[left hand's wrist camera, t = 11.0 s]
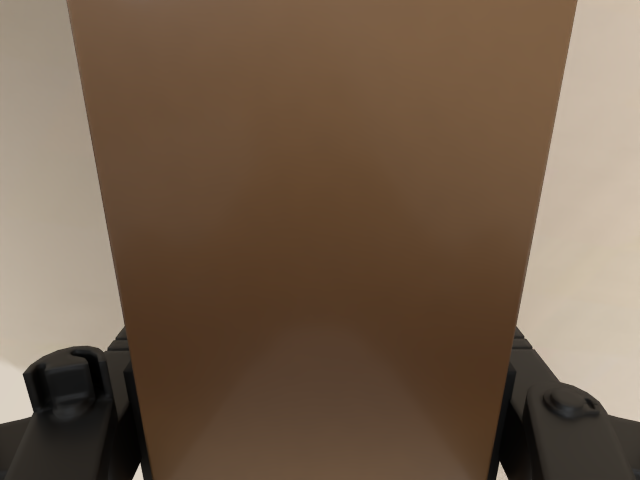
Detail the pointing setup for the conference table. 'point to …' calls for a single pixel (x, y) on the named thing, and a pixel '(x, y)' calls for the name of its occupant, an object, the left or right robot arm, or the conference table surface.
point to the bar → (320, 223)
